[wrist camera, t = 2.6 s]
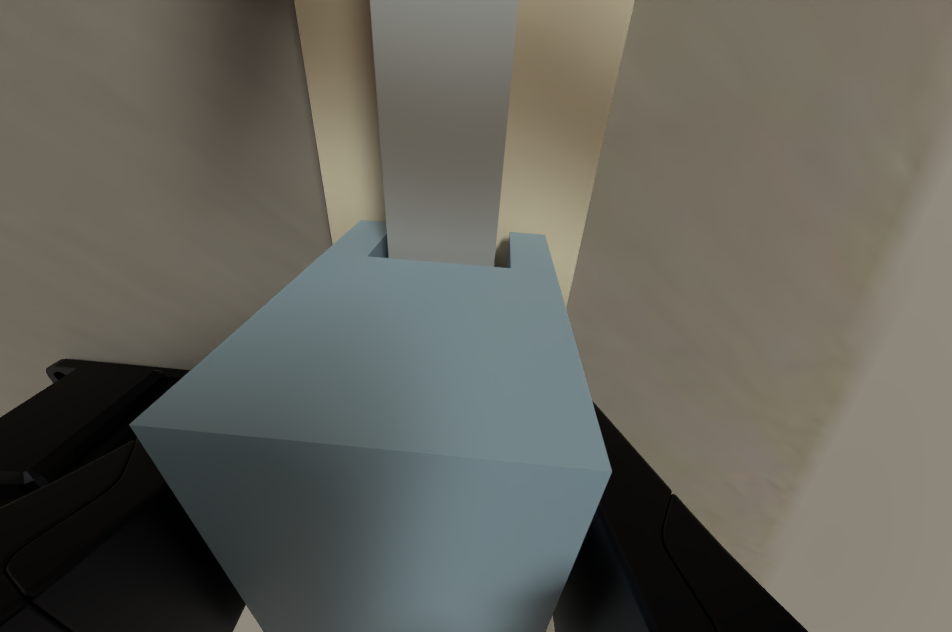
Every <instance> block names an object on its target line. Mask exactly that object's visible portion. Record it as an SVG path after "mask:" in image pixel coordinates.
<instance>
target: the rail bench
mask: <svg viewBox="0 0 952 632" xmlns="http://www.w3.org/2000/svg"><path fill="white" fill-rule="evenodd" d="M634 1H635V0H294V3H295V9H296V16H297V22H298V28H299V35H300V41H301V47H302V54H303V60H304V66H305V73H306V79H307V85H308V92H309V98H310V104H311V111H312V117H313V123H314V130H315V136H316V142H317V149H318V155H319V161H320V168H321V174H322V180H323V187H324V193H325V199H326V206H327V212H328V218H329V225H330V231H331V237H332V244H334V243H335V242H337V241H338V240H339V239H340V238H341V237H342V236H343V235H344V234H346V233H347V232H348V231H349V230H350V229H351V228H352V227H354V226H355V225H356V224H357V223H358V222H359V221H360V220H368V221H381V222H386V227H387V241H388V255H389V258H392V259H405V260H417V261H429V262H441V263H453V264H465V265H477V266H489V267H501V268H506V260H507V251H508V242H509V233H510V232H518V233H531V234H543V235H545V236H546V240H547V243H548V247H549V250H550V254H551V257H552V261H553V264H554V268H555V271H556V275H557V278H558V282H559V286H560V289H561V293H562V296H563V300H564V303H565V307H567V302H568V298H569V293H570V289H571V284H572V280H573V275H574V271H575V266H576V262H577V257H578V253H579V248H580V244H581V239H582V235H583V230H584V226H585V221H586V217H587V212H588V208H589V203H590V199H591V194H592V190H593V185H594V181H595V176H596V172H597V167H598V163H599V158H600V154H601V149H602V145H603V140H604V136H605V131H606V127H607V122H608V118H609V113H610V109H611V104H612V100H613V95H614V91H615V86H616V82H617V77H618V73H619V68H620V64H621V59H622V55H623V50H624V46H625V41H626V37H627V32H628V28H629V23H630V19H631V14H632V10H633V5H634Z"/></svg>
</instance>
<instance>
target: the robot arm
mask: <svg viewBox="0 0 952 632" xmlns="http://www.w3.org/2000/svg"><path fill="white" fill-rule="evenodd" d="M189 371H190V370H179V369H169V368H158V367H147V366H136V365H125V364H115V363H104V362H93V361H82V360H71V359H61V360H59V361H58V362H56V363H54V364H53V365H51V366H49V367H48V368H47V369H46V373H47V375H48V376H49V378H50V379H51V380H52V382H53V384H52V385H50V386H49V387H47V388H46V389H44V390H42V391H41V392H39V393H38V394H36V395H35V396H33V397H32V398H30V399H28V400H27V401H25V402H24V403H22V404H21V405H19V406H18V407H16V408H14V409H13V410H11V411H10V412H8V413H7V414H5V415H4V416H2V417H0V632H233V630H234V628H235V626H236V624H237V622H238V620H239V618H240V615H241V613H242V611H243V609H244V607H245V605H246V604H245V602H244V601H243V599H242V598H241V596H240V594H239V593H238V591H237V590H236V588H235V587H234V585H233V584H232V582H231V581H230V579H229V578H228V576H227V574H226V573H225V571H224V570H223V568H222V567H221V565H220V564H219V562H218V561H217V559H216V558H215V556H214V554H213V553H212V551H211V550H210V548H209V547H208V545H207V544H206V542H205V541H204V539H203V538H202V536H201V534H200V533H199V531H198V530H197V528H196V527H195V525H194V524H193V522H192V521H191V519H190V518H189V516H188V514H187V513H186V511H185V510H184V508H183V507H182V505H181V504H180V502H179V501H178V499H177V498H176V496H175V494H174V493H173V491H172V490H171V488H170V487H169V485H168V484H167V482H166V481H165V479H164V478H163V476H162V474H161V473H160V471H159V470H158V468H157V467H156V465H155V464H154V462H153V461H152V459H151V458H150V456H149V454H148V453H147V451H146V450H145V448H144V447H143V445H142V444H141V442H140V441H139V439H138V438H137V436H136V434H135V433H134V431H133V430H132V428H131V427H130V425H129V424H130V423H132V422H133V421H134V420H135V419H136V418H137V417H138V416H140V415H141V414H142V413H143V412H144V411H145V410H146V409H147V408H149V407H150V406H151V405H152V404H153V403H154V402H155V401H156V400H158V399H159V398H160V397H161V396H162V395H163V394H164V393H166V392H167V391H168V390H169V389H170V388H171V387H172V386H173V385H175V384H176V383H177V382H178V381H179V380H180V379H181V378H183V377H184V376H185V375H186V374H187V373H188V372H189ZM592 402H593V401H592ZM593 406H594V409H595V413H596V416H597V420H598V423H599V427H600V431H601V434H602V438H603V441H604V445H605V448H606V452H607V455H608V459H609V462H610V466H611V469H612V473H611V475H610V478H609V480H608V483H607V485H606V487H605V490H604V492H603V495H602V497H601V499H600V502H599V504H598V507H597V509H596V511H595V514H594V516H593V519H592V521H591V523H590V526H589V528H588V531H587V533H586V535H585V538H584V540H583V543H582V545H581V548H580V550H579V552H578V555H577V557H576V560H575V562H574V564H573V567H572V569H571V572H570V574H569V576H568V579H567V581H566V584H565V586H564V588H563V591H562V593H561V596H560V598H559V600H558V603H557V605H556V608H555V610H554V612H553V620H554V628H555V632H808V631H807V630H806V629H805V628H804V627H803V626H802V625H801V624H800V623H799V622H798V621H797V620H796V619H795V618H794V617H793V616H792V615H791V614H790V613H789V612H787V610H785V609H784V607H783V606H781V605H780V604H779V603H778V602H777V601H776V600H775V599H774V598H773V597H772V596H771V595H770V594H769V593H768V592H767V591H766V590H765V589H764V588H763V587H762V586H761V585H760V584H759V583H758V582H757V581H756V580H755V579H754V578H753V577H752V576H751V575H750V574H749V573H748V572H747V571H746V570H745V569H744V568H743V567H742V566H741V565H740V564H739V563H738V562H737V561H736V560H735V559H734V558H733V557H732V556H731V555H730V554H729V552H728V551H727V550H726V549H725V548H724V547H723V546H722V545H721V544H720V543H719V542H718V541H717V540H716V539H715V538H714V537H713V536H712V534H711V533H710V532H709V531H708V530H707V529H706V528H705V527H704V526H703V525H702V524H701V522H700V521H699V520H698V519H697V518H696V517H695V516H694V515H693V514H692V513H691V511H690V510H689V509H688V508H687V507H686V506H685V505H684V504H683V502H682V501H681V500H680V499H679V498H678V497H677V496H676V495H675V494H672V495H671V493H672V491H671V489H670V488H669V487H668V486H667V485H666V483H665V482H664V481H663V480H662V479H661V478H660V477H659V476H658V474H657V473H656V472H655V471H654V470H653V469H652V468H651V467H650V465H649V464H648V463H647V462H646V461H645V460H644V459H643V457H642V456H641V455H640V454H639V453H638V452H637V451H636V450H635V448H634V447H633V446H632V445H631V444H630V443H629V442H628V440H627V439H626V438H625V437H624V436H623V435H622V434H621V433H620V431H619V430H618V429H617V428H616V427H615V426H614V425H613V424H612V422H611V421H610V420H609V419H608V418H607V417H606V416H605V414H604V413H603V412H602V411H601V410H600V409H599V408H598V407H597V405H596V404H595V403H594V402H593Z"/></svg>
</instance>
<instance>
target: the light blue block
mask: <svg viewBox="0 0 952 632" xmlns="http://www.w3.org/2000/svg"><path fill="white" fill-rule="evenodd" d="M129 425H130V427H131V428H132V430H133V431H134V433H135V434H136V436H137V438H138V439H139V441H140V442H141V444H142V445H143V447H144V448H145V450H146V451H147V453H148V454H149V456H150V458H151V459H152V461H153V462H154V464H155V465H156V467H157V468H158V470H159V471H160V473H161V474H162V476H163V478H164V479H165V481H166V482H167V484H168V485H169V487H170V488H171V490H172V491H173V493H174V494H175V496H176V498H177V499H178V501H179V502H180V504H181V505H182V507H183V508H184V510H185V511H186V513H187V514H188V516H189V518H190V519H191V521H192V522H193V524H194V525H195V527H196V528H197V530H198V531H199V533H200V534H201V536H202V538H203V539H204V541H205V542H206V544H207V545H208V547H209V548H210V550H211V551H212V553H213V554H214V556H215V558H216V559H217V561H218V562H219V564H220V565H221V567H222V568H223V570H224V571H225V573H226V574H227V576H228V578H229V579H230V581H231V582H232V584H233V585H234V587H235V588H236V590H237V591H238V593H239V594H240V596H241V598H242V599H243V601H244V602H245V604H246V605H247V607H248V608H249V610H250V611H251V613H252V614H253V616H254V618H255V619H256V620H257V622H258V624H259V625H260V627H261V628H262V630H263V631H264V632H546V629H547V627H548V624H549V622H550V620H551V617H552V615H553V612H554V610H555V608H556V605H557V603H558V600H559V598H560V596H561V593H562V591H563V588H564V586H565V584H566V581H567V579H568V576H569V574H570V572H571V569H572V567H573V564H574V562H575V560H576V557H577V555H578V552H579V550H580V548H581V545H582V543H583V540H584V538H585V535H586V533H587V531H588V528H589V526H590V523H591V521H592V519H593V516H594V514H595V511H596V509H597V507H598V504H599V502H600V499H601V497H602V495H603V492H604V490H605V487H606V485H607V483H608V480H609V478H610V475H611V473H612V469H611V466H610V462H609V459H608V455H607V452H606V448H605V445H604V441H603V438H602V434H601V431H600V427H599V423H598V420H597V416H596V413H595V409H594V406H593V402H592V399H591V395H590V392H589V388H588V385H587V381H586V377H585V374H584V370H583V367H582V363H581V360H580V356H579V353H578V349H577V346H576V342H575V339H574V335H573V331H572V328H571V324H570V321H569V317H568V314H567V310H566V307H565V303H564V300H563V296H562V293H561V289H560V286H559V282H558V278H557V275H556V271H555V268H554V264H553V261H552V257H551V254H550V250H549V247H548V243H547V240H546V236H545V235H543V234H531V233H518V232H510V233H509V242H508V251H507V260H506V268H501V267H489V266H477V265H465V264H453V263H441V262H429V261H417V260H405V259H392V258H389V255H388V241H387V227H386V222H381V221H368V220H360V221H359V222H358V223H357V224H356V225H355V226H354V227H352V228H351V229H350V230H349V231H348V232H347V233H346V234H344V235H343V236H342V237H341V238H340V239H339V240H338V241H337V242H335V243H334V244H333V245H332V246H331V247H330V248H329V249H327V250H326V251H325V252H324V253H323V254H322V255H321V256H320V257H318V258H317V259H316V260H315V261H314V262H313V263H312V264H311V265H309V266H308V267H307V268H306V269H305V270H304V271H303V272H301V273H300V274H299V275H298V276H297V277H296V278H295V279H294V280H292V281H291V282H290V283H289V284H288V285H287V286H286V287H284V288H283V289H282V290H281V291H280V292H279V293H278V294H277V295H275V296H274V297H273V298H272V299H271V300H270V301H269V302H267V303H266V304H265V305H264V306H263V307H262V308H261V309H260V310H258V311H257V312H256V313H255V314H254V315H253V316H252V317H250V318H249V319H248V320H247V321H246V322H245V323H244V324H243V325H241V326H240V327H239V328H238V329H237V330H236V331H235V332H234V333H232V334H231V335H230V336H229V337H228V338H227V339H226V340H224V341H223V342H222V343H221V344H220V345H219V346H218V347H217V348H215V349H214V350H213V351H212V352H211V353H210V354H209V355H207V356H206V357H205V358H204V359H203V360H202V361H201V362H200V363H198V364H197V365H196V366H195V367H194V368H193V369H192V370H190V371H189V372H188V373H187V374H186V375H185V376H184V377H183V378H181V379H180V380H179V381H178V382H177V383H176V384H175V385H173V386H172V387H171V388H170V389H169V390H168V391H167V392H166V393H164V394H163V395H162V396H161V397H160V398H159V399H158V400H156V401H155V402H154V403H153V404H152V405H151V406H150V407H149V408H147V409H146V410H145V411H144V412H143V413H142V414H141V415H140V416H138V417H137V418H136V419H135V420H134V421H133V422H132V423H130V424H129Z"/></svg>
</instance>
